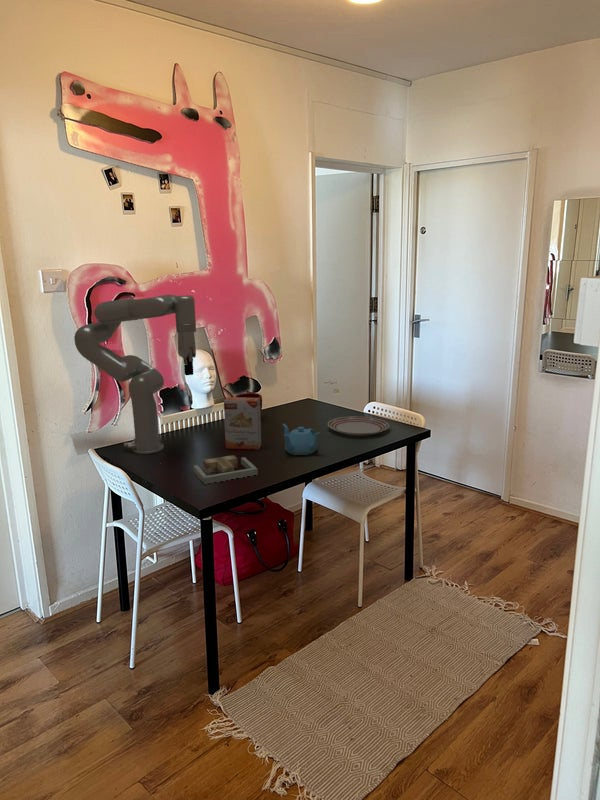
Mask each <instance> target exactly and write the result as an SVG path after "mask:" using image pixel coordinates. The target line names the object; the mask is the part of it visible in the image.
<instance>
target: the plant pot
mask: <svg viewBox="0 0 600 800" xmlns="http://www.w3.org/2000/svg"><path fill="white" fill-rule="evenodd" d="M234 397H244V398H260V417H261V418H262V414H261V412H262V410H263V409H262V408H263V396H262V394H261V393H257V392H244V393H240V394H239V393H238V394H237V395H235V396H234Z"/></svg>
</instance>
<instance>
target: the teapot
mask: <svg viewBox="0 0 600 800" xmlns="http://www.w3.org/2000/svg"><path fill="white" fill-rule="evenodd" d="M282 426H283V428H284V434H283V437H284V441H285V442H284V450H285V451H286V452H287V453H289V454H290V455H292V456H297V455H305V456H309V454H310V455H312V454H314V453H315V452H316V451H317V449H318V445H319V435H320V434H321V433H322V432H320V431H319V432H315V430H314V429H313V428H305V427H304V426H298V427H297V428H295V429H292V430H291V431H290V429H289V427H288V425H286V424H285V423H282Z"/></svg>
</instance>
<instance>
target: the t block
mask: <svg viewBox="0 0 600 800" xmlns="http://www.w3.org/2000/svg"><path fill="white" fill-rule="evenodd" d="M202 462H203V463H202V464H203V471H204V470H205V471H204V473H205V474H211V473H210V472H213V473H217V474H221V473H227V472H232V471H235V469H234V468H236V469H239V468H238V467H239V466H238V465H239V463H238V462H239V461H238V457H236V455H235V454H233V455H226V456H221V457H219V456H218V457H213V458H207V459H203V460H202Z"/></svg>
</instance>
